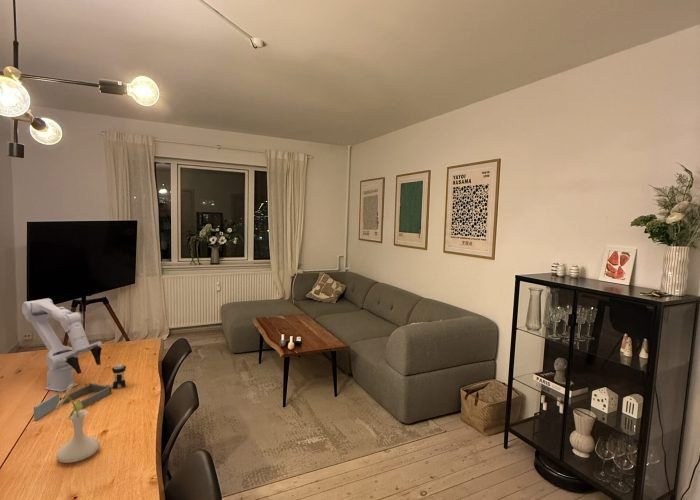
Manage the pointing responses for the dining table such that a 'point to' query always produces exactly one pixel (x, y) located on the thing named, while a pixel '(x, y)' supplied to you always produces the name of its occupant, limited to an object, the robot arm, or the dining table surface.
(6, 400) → the dining table surface
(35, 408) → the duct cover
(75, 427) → the flower in vase
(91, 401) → the duct bay
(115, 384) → the push button
